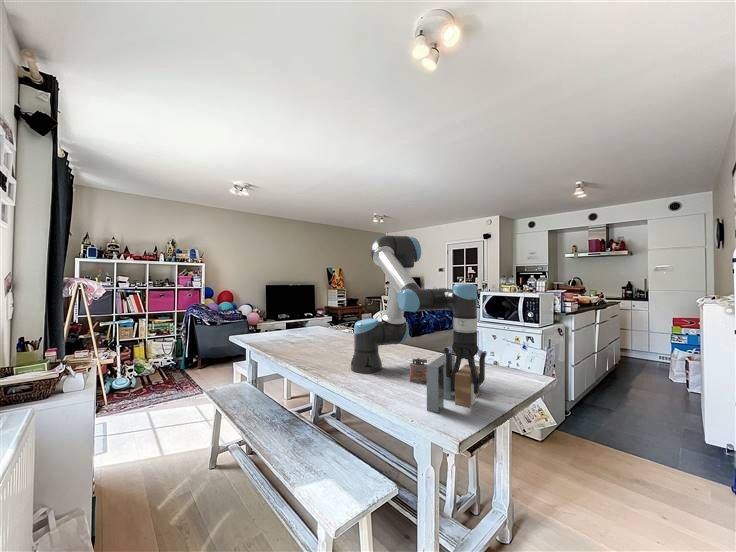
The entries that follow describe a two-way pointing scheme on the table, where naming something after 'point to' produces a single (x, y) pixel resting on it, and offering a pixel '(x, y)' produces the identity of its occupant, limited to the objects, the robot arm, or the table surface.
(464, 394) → the plug
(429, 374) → the housing
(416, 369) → the lighter
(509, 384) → the table surface
